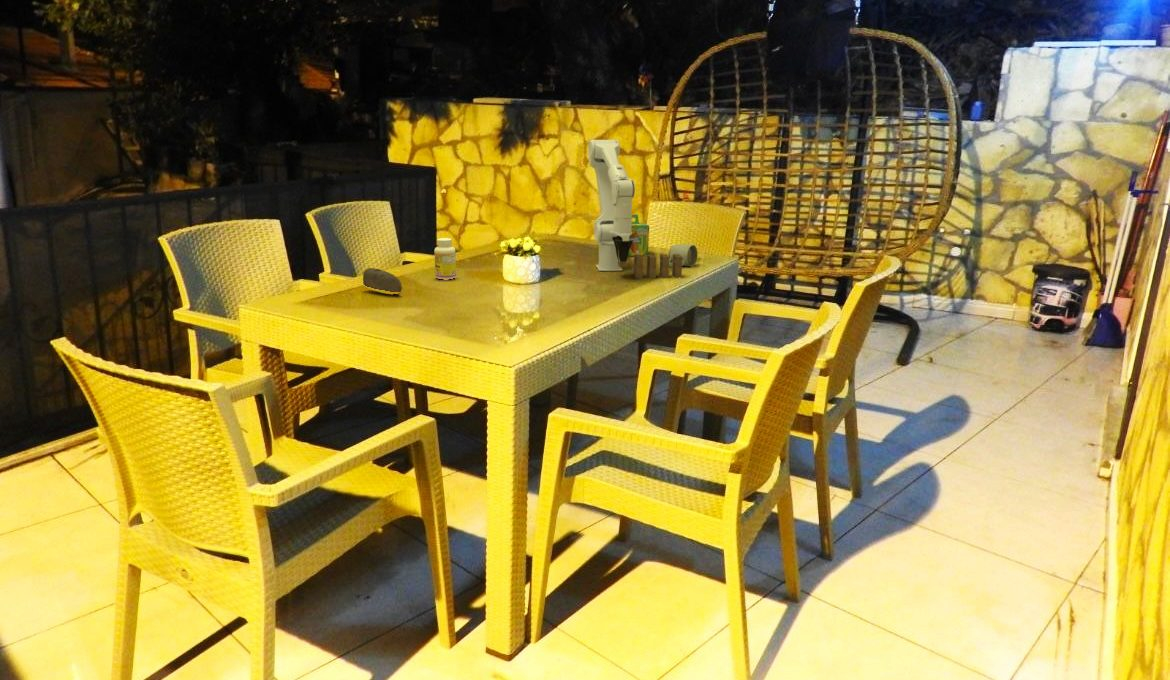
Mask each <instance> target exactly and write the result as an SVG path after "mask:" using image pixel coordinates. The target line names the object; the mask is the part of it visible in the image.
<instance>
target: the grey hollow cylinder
mask: <svg viewBox="0 0 1170 680" xmlns="http://www.w3.org/2000/svg"><path fill="white" fill-rule="evenodd" d="M673 254H680V255H681V256H682V267H688V266H692V267H694V266H696V264H697V261H698V254H699V253H698V248H697V246H696V245H695V244H693V243H692V244H685V243H684V244H682V243H681V244H679V243H677V244H673V245H672V246H671V247H670V248H669V252H668V256H669V268H671V267H672V265H673Z"/></svg>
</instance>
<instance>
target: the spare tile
mask: <svg viewBox="0 0 1170 680" xmlns="http://www.w3.org/2000/svg"><path fill="white" fill-rule="evenodd" d="M618 265H619V266H620V267H621V268H626V267H627V261H626V262H620V259H619V252H618Z"/></svg>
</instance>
